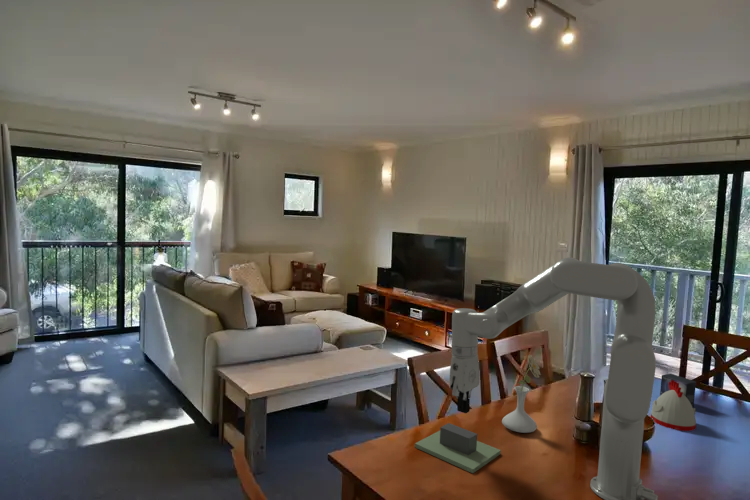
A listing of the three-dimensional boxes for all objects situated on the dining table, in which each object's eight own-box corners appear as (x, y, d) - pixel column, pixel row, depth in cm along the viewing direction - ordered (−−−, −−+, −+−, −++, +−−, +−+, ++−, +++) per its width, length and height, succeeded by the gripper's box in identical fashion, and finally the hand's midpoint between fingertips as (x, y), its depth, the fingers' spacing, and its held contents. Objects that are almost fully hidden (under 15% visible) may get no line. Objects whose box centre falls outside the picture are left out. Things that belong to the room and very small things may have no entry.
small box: (658, 399, 195) (660, 374, 194) (668, 397, 198) (670, 373, 197) (684, 409, 185) (686, 383, 185) (694, 407, 188) (697, 381, 187)
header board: (500, 454, 141) (501, 437, 141) (472, 473, 129) (474, 455, 129) (444, 431, 154) (445, 416, 154) (414, 447, 143) (415, 430, 142)
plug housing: (476, 450, 140) (477, 433, 140) (468, 455, 137) (469, 438, 136) (447, 438, 147) (448, 423, 146) (439, 443, 143) (440, 427, 143)
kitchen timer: (682, 416, 178) (686, 377, 177) (704, 432, 164) (708, 390, 163) (643, 413, 179) (647, 374, 178) (662, 429, 165) (665, 387, 164)
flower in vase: (522, 439, 152) (528, 363, 150) (494, 425, 161) (499, 353, 159) (546, 430, 159) (552, 357, 158) (518, 417, 169) (523, 349, 167)
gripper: (461, 357, 132) (460, 422, 133) (488, 348, 143) (487, 408, 144) (439, 353, 137) (438, 415, 138) (466, 344, 148) (465, 401, 149)
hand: (463, 411), depth 141 cm, fingers closed
